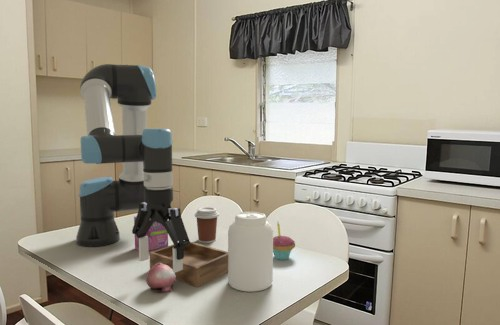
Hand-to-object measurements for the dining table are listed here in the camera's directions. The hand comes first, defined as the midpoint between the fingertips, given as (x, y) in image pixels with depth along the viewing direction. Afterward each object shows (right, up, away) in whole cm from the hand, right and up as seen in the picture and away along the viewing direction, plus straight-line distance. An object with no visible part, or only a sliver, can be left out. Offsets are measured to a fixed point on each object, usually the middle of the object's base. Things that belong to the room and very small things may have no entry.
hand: (160, 265), depth 109 cm
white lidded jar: (+24, -7, +5) cm, 26 cm away
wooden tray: (+6, -5, +14) cm, 17 cm away
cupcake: (+35, -4, +26) cm, 44 cm away
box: (-11, -3, +35) cm, 37 cm away
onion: (0, -7, +2) cm, 7 cm away
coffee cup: (+8, -2, +44) cm, 44 cm away
